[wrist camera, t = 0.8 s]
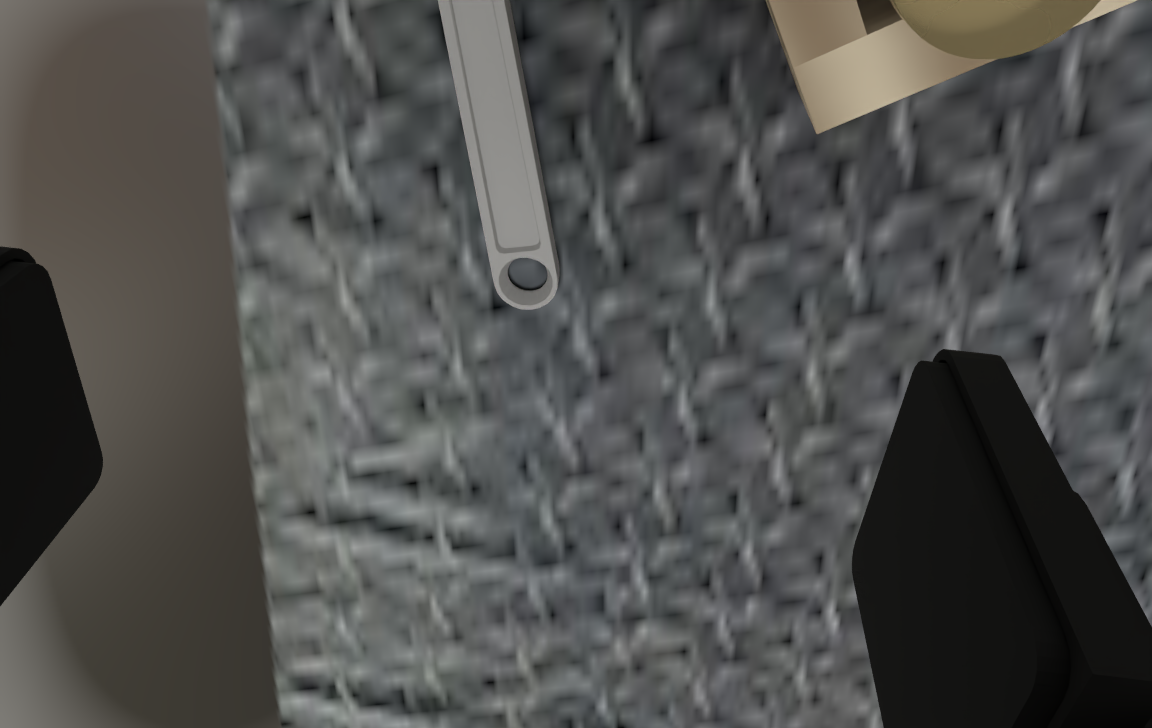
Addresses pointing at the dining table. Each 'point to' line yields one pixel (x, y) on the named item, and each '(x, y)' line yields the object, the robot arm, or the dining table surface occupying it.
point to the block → (863, 55)
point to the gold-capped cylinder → (991, 24)
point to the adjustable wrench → (501, 143)
